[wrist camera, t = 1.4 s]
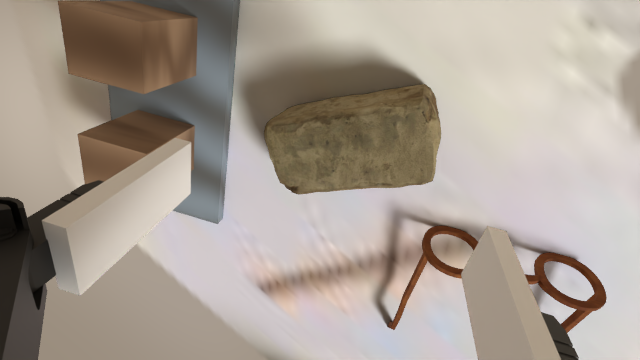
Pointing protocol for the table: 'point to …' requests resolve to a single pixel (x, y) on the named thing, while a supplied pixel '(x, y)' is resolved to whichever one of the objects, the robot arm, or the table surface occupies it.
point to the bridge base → (198, 102)
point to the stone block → (357, 141)
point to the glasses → (539, 277)
